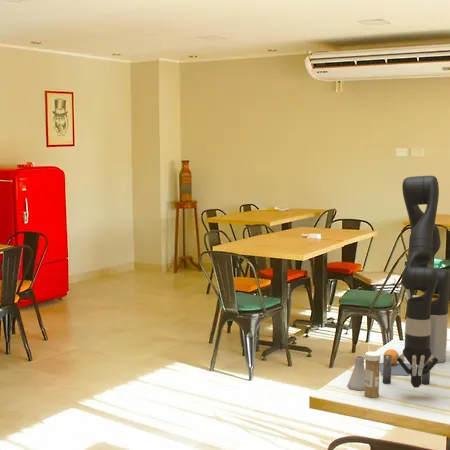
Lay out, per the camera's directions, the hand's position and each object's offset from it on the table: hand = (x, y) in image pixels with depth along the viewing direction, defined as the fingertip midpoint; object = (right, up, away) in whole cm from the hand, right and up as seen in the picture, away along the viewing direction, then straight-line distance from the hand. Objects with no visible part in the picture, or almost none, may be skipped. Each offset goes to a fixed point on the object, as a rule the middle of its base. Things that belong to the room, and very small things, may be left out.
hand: (415, 386), depth 219 cm
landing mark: (+1, 0, +27) cm, 27 cm away
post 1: (-6, -2, +13) cm, 15 cm away
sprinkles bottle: (-13, -3, +1) cm, 14 cm away
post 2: (+7, -2, +13) cm, 15 cm away
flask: (-16, -2, +9) cm, 18 cm away
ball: (0, +3, +32) cm, 32 cm away
